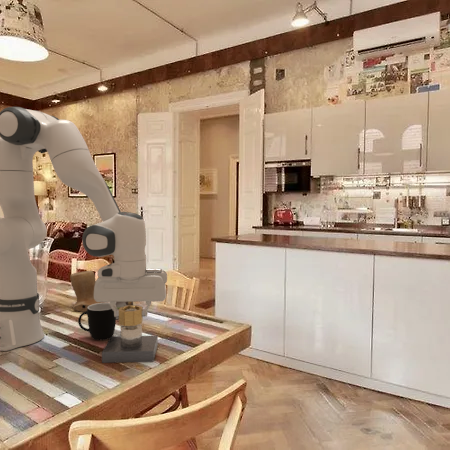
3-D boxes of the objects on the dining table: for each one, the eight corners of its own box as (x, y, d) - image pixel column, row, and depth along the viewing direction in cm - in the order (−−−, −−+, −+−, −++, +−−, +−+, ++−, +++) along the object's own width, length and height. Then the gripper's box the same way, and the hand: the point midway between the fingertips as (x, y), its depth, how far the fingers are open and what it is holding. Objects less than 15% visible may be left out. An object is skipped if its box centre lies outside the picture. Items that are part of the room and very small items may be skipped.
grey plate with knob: (102, 362, 108) (101, 316, 107) (111, 346, 120) (110, 304, 119) (153, 361, 109) (153, 315, 108) (157, 345, 121) (157, 303, 120)
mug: (119, 331, 132) (118, 302, 131) (113, 341, 123) (113, 310, 122) (82, 332, 131) (82, 302, 130) (74, 342, 122) (73, 310, 121)
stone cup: (75, 302, 167) (74, 268, 166) (104, 302, 168) (103, 267, 167) (64, 313, 152) (63, 275, 151) (96, 313, 153) (95, 275, 152)
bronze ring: (117, 326, 110) (117, 312, 110) (121, 318, 116) (121, 305, 116) (140, 325, 110) (140, 311, 110) (143, 318, 117) (143, 305, 116)
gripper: (167, 266, 116) (167, 312, 117) (97, 267, 115) (98, 313, 116) (166, 270, 110) (166, 319, 111) (91, 271, 108) (92, 320, 109)
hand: (130, 316), depth 113 cm, fingers closed on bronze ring, 6 cm apart
